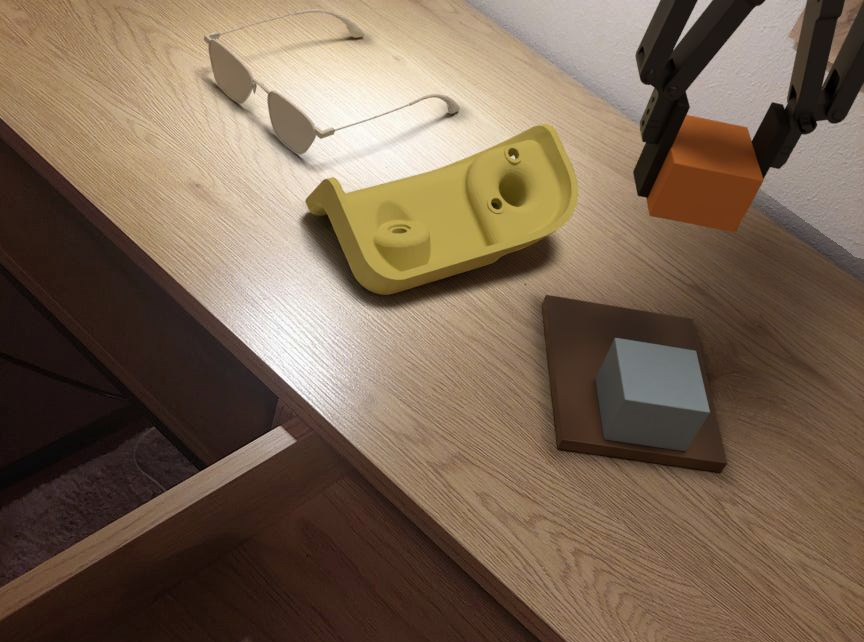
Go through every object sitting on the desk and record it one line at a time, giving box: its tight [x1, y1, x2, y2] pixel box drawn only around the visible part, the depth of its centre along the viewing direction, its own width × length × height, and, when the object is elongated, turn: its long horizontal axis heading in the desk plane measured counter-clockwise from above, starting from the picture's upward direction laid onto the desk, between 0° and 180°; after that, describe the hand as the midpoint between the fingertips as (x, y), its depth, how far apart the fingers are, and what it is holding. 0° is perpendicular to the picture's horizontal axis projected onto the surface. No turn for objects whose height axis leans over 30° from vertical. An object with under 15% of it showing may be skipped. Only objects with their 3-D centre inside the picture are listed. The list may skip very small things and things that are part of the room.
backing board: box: [541, 294, 728, 473], centre depth 78 cm, size 12×15×1 cm
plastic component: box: [304, 123, 579, 296], centre depth 83 cm, size 20×7×10 cm
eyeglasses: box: [203, 8, 461, 155], centre depth 92 cm, size 15×18×4 cm
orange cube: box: [645, 114, 764, 233], centre depth 70 cm, size 6×6×4 cm
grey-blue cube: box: [595, 338, 710, 451], centre depth 74 cm, size 6×6×4 cm
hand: (688, 193), depth 71 cm, fingers closed on orange cube, 6 cm apart
